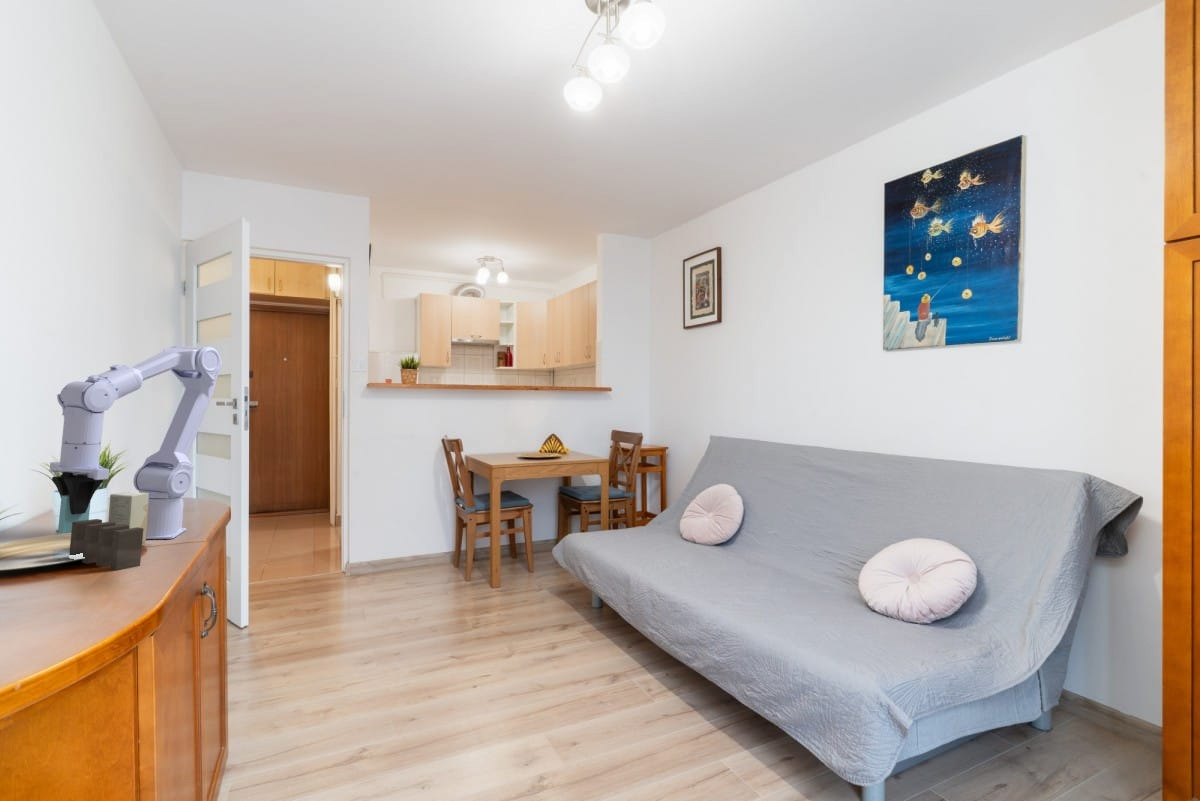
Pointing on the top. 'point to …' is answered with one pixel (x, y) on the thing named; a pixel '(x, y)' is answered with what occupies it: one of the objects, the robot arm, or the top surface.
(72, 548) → the tile
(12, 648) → the top surface
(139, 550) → the tile
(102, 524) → the tile
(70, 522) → the lead tile
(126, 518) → the box
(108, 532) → the tile
